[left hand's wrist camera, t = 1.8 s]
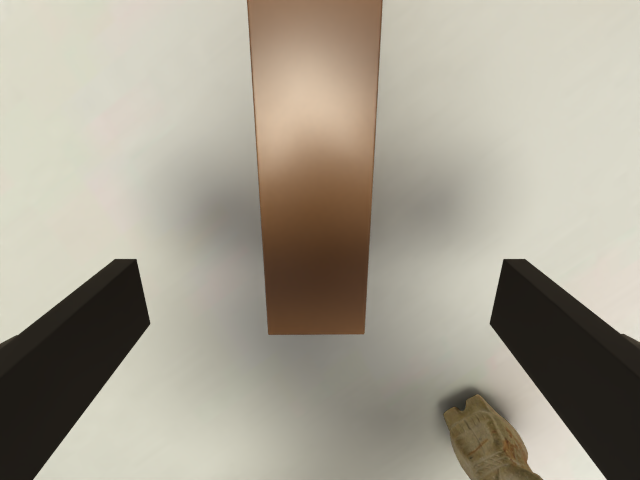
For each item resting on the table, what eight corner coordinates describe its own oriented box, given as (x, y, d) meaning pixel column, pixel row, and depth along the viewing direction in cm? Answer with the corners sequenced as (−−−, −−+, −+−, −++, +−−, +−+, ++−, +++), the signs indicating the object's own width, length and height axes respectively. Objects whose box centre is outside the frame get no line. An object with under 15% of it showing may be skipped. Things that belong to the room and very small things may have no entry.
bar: (350, 264, 25) (364, 334, 17) (282, 265, 25) (268, 335, 17) (367, -239, 16) (412, -550, 8) (261, -240, 16) (211, -554, 8)
